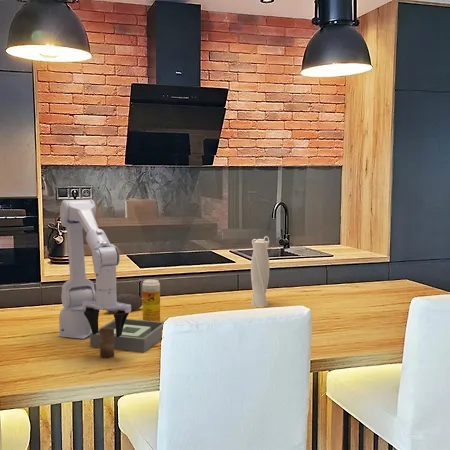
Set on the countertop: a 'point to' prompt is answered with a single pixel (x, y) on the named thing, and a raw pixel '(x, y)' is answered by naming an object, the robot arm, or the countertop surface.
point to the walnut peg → (107, 342)
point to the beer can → (151, 300)
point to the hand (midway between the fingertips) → (107, 334)
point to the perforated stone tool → (129, 301)
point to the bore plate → (134, 331)
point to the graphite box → (132, 342)
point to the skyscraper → (260, 271)
